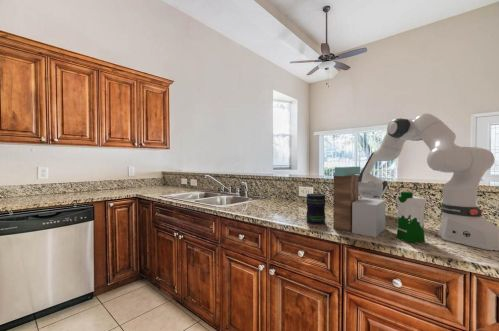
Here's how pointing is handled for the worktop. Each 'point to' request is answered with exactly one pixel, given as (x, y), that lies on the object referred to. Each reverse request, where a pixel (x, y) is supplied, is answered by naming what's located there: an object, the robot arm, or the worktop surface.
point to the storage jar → (315, 209)
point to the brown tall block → (344, 201)
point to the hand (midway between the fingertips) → (360, 181)
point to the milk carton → (410, 217)
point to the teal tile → (346, 171)
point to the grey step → (368, 217)
